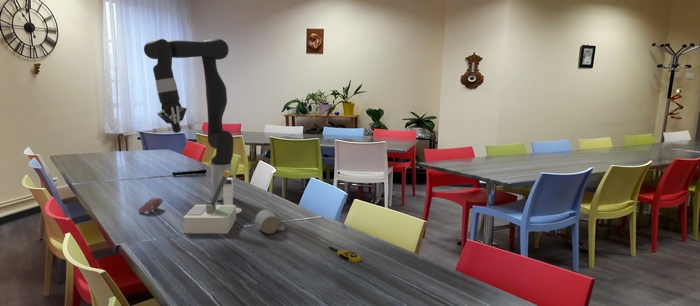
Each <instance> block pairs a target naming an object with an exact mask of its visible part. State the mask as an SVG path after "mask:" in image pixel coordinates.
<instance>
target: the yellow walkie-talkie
mask: <svg viewBox="0 0 700 306" xmlns="http://www.w3.org/2000/svg"><path fill="white" fill-rule="evenodd" d="M328 249H330V250H332V251H334V252H336V254H338V255H339V256H340V257H341V258H340V257H339V256H338V255H337V256H338V257H339V258H340V259H342V258H343V259H342V260H344V259H345V261H347V260H348V261H347V262H350V261H352V262H351V263H354V262H355V263H358V262H357V261H359V262H361V261H362V257H361V256H360V255H359V254H358V253H356V252H353V251H350V250H348V249H340V250H338V249H336V248H333V247H332V246H328ZM360 260H361V261H360Z"/></svg>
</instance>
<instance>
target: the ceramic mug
mask: <svg viewBox="0 0 700 306" xmlns="http://www.w3.org/2000/svg"><path fill="white" fill-rule="evenodd" d="M254 224H255V225H256V226H257V228H259V230H260V231H262V232H263V233H264V234H268V235H272V234H274V233H276V232H277V231H278V230H279V231H281V232H283V231H285V229H286V226H285V225H284V224H282V223H280V220H279V218H278V217H277V216H276V215H275V214H274V213H273V211H271V210H268V209H262V210H260V211H259V212H257V214H256V216H255V223H254Z"/></svg>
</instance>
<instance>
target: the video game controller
mask: <svg viewBox="0 0 700 306" xmlns="http://www.w3.org/2000/svg"><path fill="white" fill-rule="evenodd" d="M163 201H164V200H163V199H162V198H160V197H153V198H150V199H149V200H148V201H146V202H145V203H144V204H143V205H142V206H141V207H140V208H139V209H138V213H139V214H144V213H146V212H148V213H151V212H152V211H156V210H157V209H158V208H159V207H160V206H161V205H162V204H163Z"/></svg>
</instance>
